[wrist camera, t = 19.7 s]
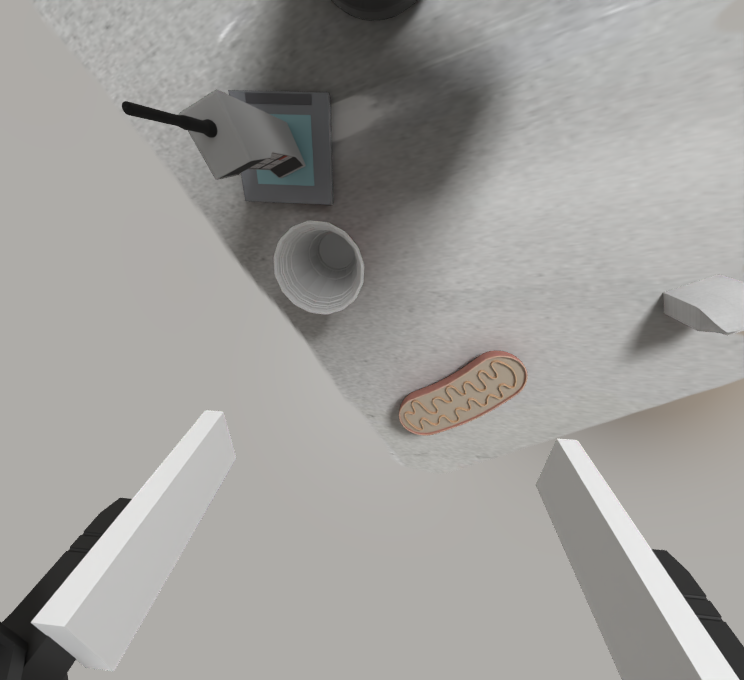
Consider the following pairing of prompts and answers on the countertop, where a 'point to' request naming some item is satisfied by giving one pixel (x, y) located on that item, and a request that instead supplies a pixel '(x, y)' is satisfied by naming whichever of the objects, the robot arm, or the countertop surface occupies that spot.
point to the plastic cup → (318, 267)
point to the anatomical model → (464, 394)
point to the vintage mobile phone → (232, 135)
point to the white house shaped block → (708, 304)
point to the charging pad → (313, 139)
